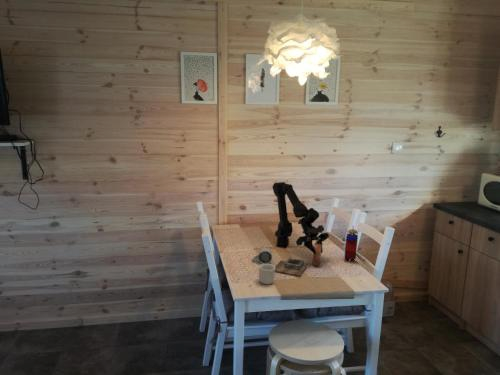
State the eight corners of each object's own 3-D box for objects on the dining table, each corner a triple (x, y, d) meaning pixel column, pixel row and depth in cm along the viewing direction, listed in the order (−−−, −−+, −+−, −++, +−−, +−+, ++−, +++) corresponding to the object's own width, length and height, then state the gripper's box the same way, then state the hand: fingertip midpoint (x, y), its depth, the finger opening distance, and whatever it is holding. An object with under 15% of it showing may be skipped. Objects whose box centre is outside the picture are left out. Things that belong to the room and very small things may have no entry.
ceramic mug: (271, 258, 223) (271, 245, 221) (271, 264, 215) (272, 251, 213) (252, 258, 223) (252, 245, 222) (252, 264, 215) (252, 250, 214)
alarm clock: (355, 264, 219) (358, 229, 215) (339, 262, 221) (342, 227, 217) (356, 255, 233) (359, 222, 228) (341, 253, 235) (344, 220, 231)
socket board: (272, 271, 206) (272, 265, 206) (280, 262, 219) (280, 256, 218) (300, 277, 201) (300, 270, 200) (307, 267, 213) (307, 260, 213)
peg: (311, 264, 214) (313, 245, 211) (313, 261, 217) (314, 242, 215) (319, 265, 212) (320, 246, 210) (320, 263, 216) (322, 244, 213)
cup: (256, 276, 200) (257, 261, 199) (272, 276, 201) (273, 261, 199) (259, 285, 190) (259, 270, 188) (275, 285, 191) (276, 270, 189)
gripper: (300, 222, 209) (311, 249, 202) (328, 218, 217) (340, 244, 210) (291, 232, 217) (301, 258, 210) (318, 228, 226) (329, 253, 219)
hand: (318, 253), depth 212 cm, fingers closed on peg, 4 cm apart
